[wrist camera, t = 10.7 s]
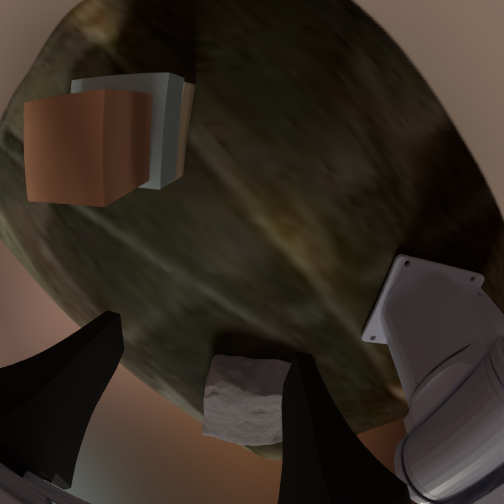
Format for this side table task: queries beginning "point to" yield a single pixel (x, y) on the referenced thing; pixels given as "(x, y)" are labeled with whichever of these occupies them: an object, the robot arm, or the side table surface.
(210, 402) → the stone block
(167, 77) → the top block
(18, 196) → the side table surface
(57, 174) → the terracotta cube
